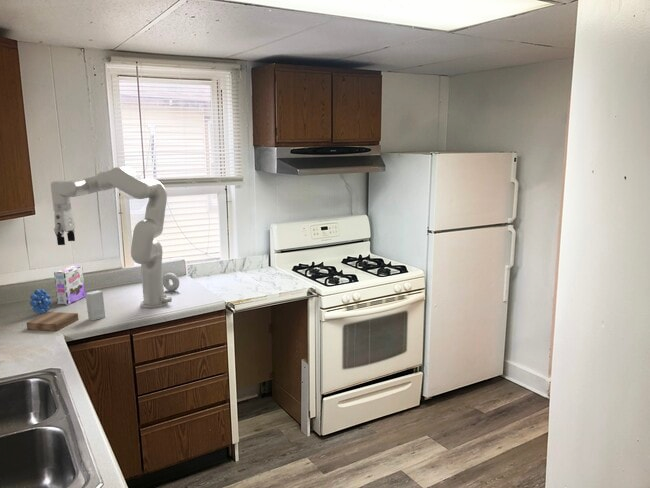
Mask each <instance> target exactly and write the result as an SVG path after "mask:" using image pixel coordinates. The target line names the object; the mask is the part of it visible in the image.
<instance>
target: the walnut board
mask: <svg viewBox="0 0 650 488" xmlns="http://www.w3.org/2000/svg"><path fill="white" fill-rule="evenodd" d="M77 321H79V314H78V312H76V313H75V312H56V311H55V312H54V311H47V312H46V313H43V315H42V314H41V315H40V316H37V317H35V318H33V319H31V320H29V321H27V322H26V329H27V330H30V331H45V330H51V331H50V332H58V331H60V330H62V329H63V328H65V326H66V327H68V326H70V325H72V324H73V323H75V322H77ZM61 328H62V329H61Z"/></svg>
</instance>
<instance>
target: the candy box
mask: <svg viewBox="0 0 650 488" xmlns="http://www.w3.org/2000/svg"><path fill="white" fill-rule="evenodd" d="M53 275H54V283H55V291H56V303H57V305H59V306H60V305H63V306H68V305H71V304H74V303H76V302H78V301H80V300H82V299H85V298H86V294H85V293H86V287H85V280H84V269H83V266H82V265H71V266H68V267H65V268H63V269H60V270H57V271H54V272H53Z"/></svg>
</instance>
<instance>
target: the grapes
mask: <svg viewBox="0 0 650 488" xmlns="http://www.w3.org/2000/svg"><path fill="white" fill-rule="evenodd" d="M29 298H30V299H31V301H30V302H29V305H30V307H32V311H33V312H35V313H38V314H40V315H42V314H43V315H44V314H45V312H49V310H50V306H51V305H52V300H51V295H50V293H48V292H47V291H46V289H44V288H42V289H34V291H33V293H31V294H30V296H29Z"/></svg>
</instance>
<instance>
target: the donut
mask: <svg viewBox="0 0 650 488" xmlns="http://www.w3.org/2000/svg"><path fill="white" fill-rule="evenodd" d="M170 281H171V282H172V284H171V283H170ZM163 287H164V289H166V290H167V291H169V292H176V291H177V290H178V289H179V287H180V279H179V277H178V275H176V273H173V272H168V273H165V274H164V275H163Z"/></svg>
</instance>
